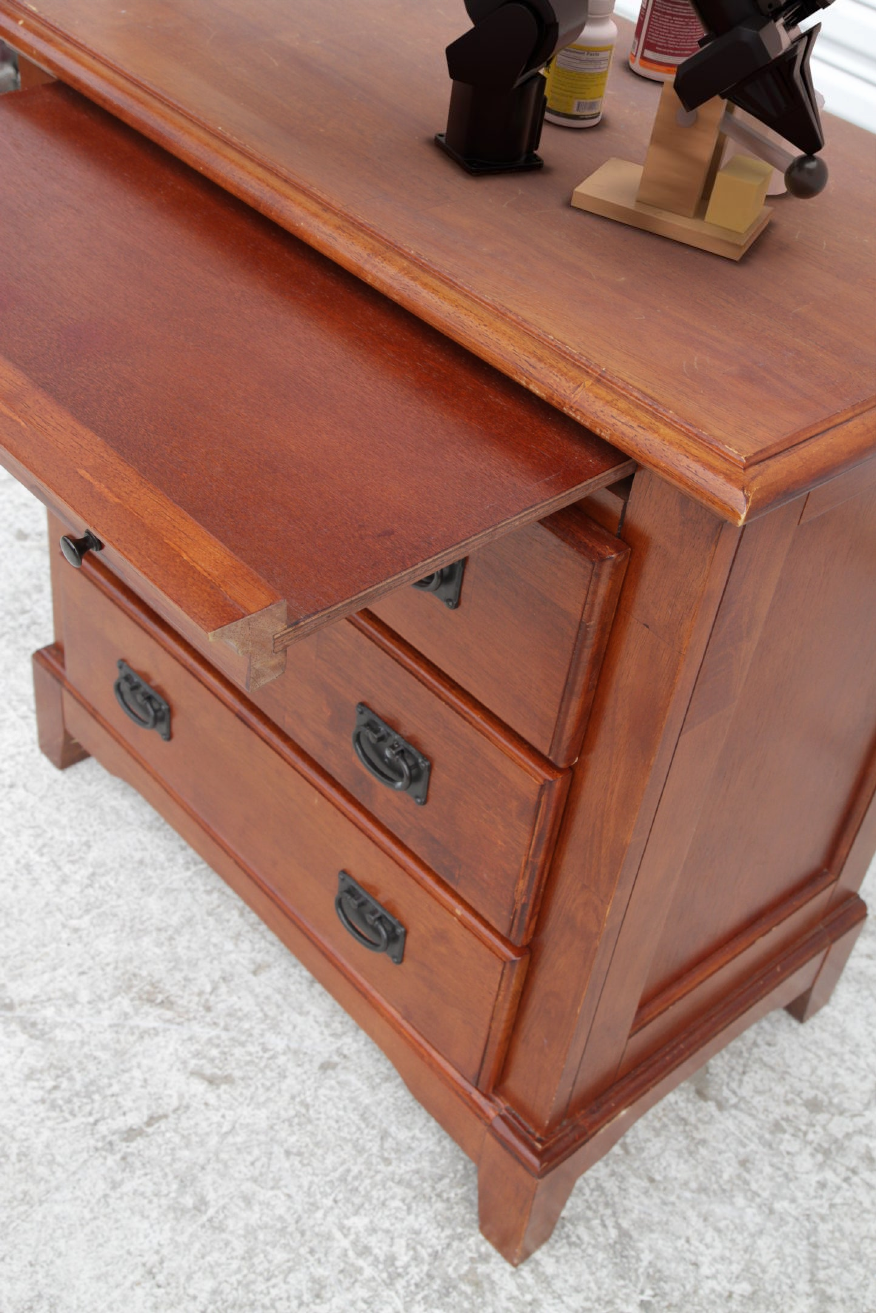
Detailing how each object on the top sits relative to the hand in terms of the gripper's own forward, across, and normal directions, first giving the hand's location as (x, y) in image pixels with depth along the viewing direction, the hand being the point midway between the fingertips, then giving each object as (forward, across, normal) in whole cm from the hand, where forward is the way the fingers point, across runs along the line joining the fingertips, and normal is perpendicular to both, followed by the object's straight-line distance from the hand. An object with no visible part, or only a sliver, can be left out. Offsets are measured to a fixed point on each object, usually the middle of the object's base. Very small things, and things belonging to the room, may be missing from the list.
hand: (817, 151), depth 88 cm
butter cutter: (-1, 0, +11) cm, 11 cm away
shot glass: (+1, +11, +9) cm, 15 cm away
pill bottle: (-9, +29, +19) cm, 36 cm away
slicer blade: (-2, 0, +5) cm, 5 cm away
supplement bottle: (-11, +12, +21) cm, 26 cm away
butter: (+1, 0, +7) cm, 7 cm away
